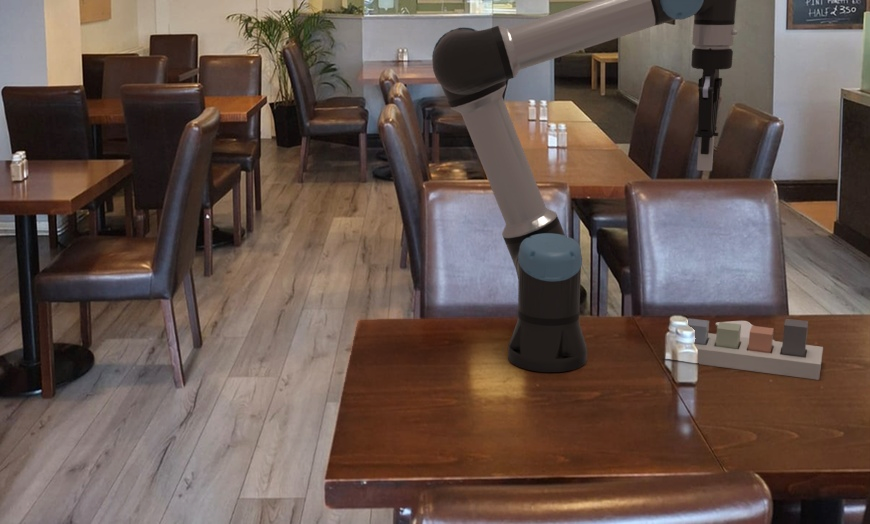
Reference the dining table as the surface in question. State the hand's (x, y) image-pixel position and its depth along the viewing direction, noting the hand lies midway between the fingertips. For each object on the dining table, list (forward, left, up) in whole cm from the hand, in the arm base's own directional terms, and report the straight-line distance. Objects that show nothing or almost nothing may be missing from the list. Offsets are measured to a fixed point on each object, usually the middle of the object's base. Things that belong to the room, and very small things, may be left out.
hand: (704, 169), depth 204 cm
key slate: (+2, -11, -34) cm, 36 cm away
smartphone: (+10, +5, -35) cm, 37 cm away
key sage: (+8, -11, -34) cm, 37 cm away
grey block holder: (+11, -11, -34) cm, 38 cm away
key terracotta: (+14, -11, -34) cm, 38 cm away
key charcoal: (+20, -11, -32) cm, 39 cm away
